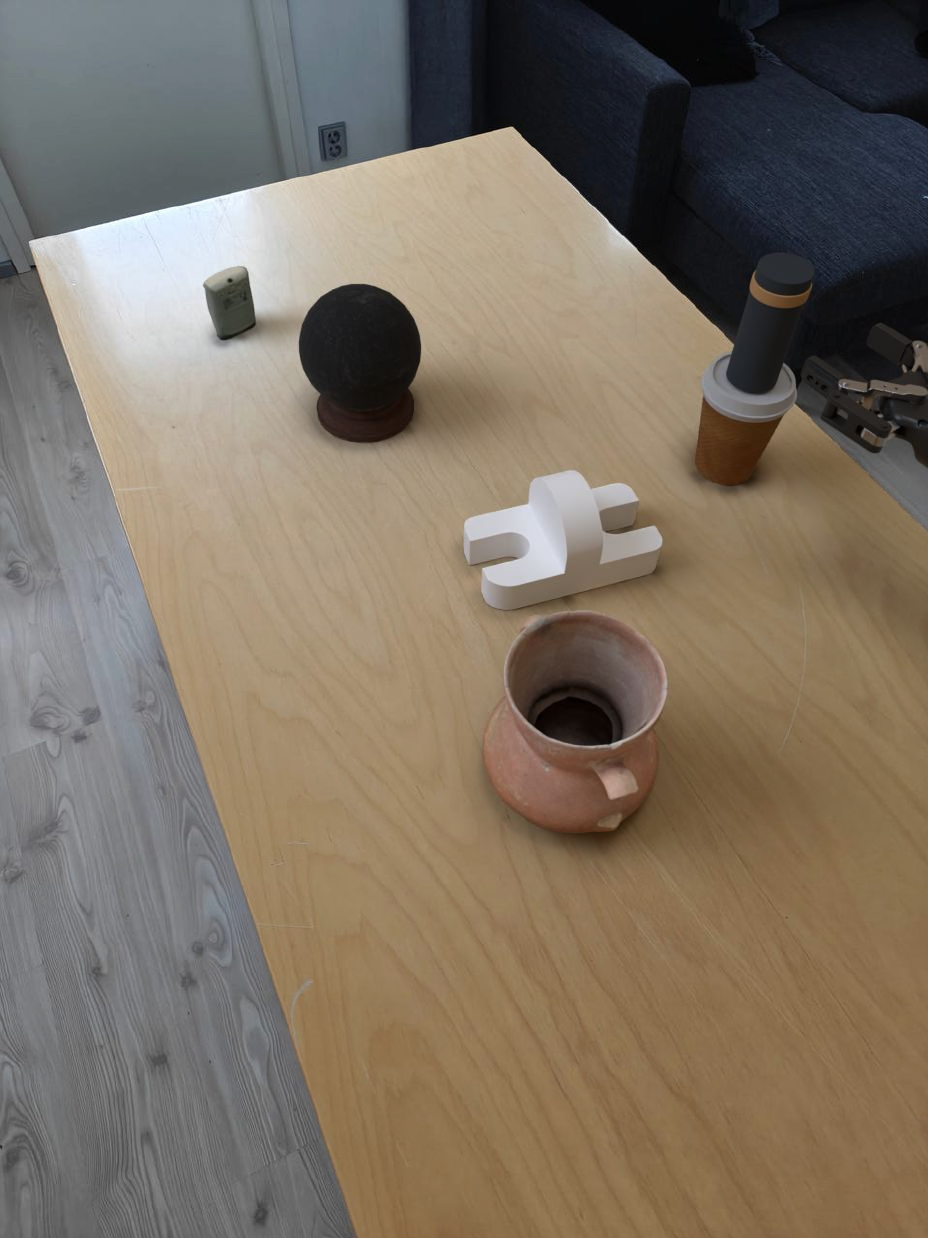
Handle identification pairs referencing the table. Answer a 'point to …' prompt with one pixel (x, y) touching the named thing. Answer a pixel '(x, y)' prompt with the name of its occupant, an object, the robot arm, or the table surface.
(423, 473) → the table surface
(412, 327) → the ball on stand
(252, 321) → the grey rounded block
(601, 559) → the u-slot mount
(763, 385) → the dark cylindrical canister
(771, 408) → the disposable coffee cup
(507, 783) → the ceramic jug
